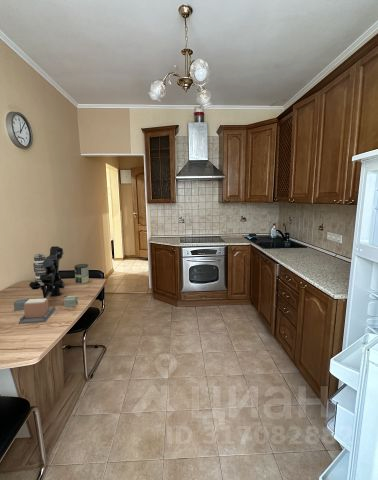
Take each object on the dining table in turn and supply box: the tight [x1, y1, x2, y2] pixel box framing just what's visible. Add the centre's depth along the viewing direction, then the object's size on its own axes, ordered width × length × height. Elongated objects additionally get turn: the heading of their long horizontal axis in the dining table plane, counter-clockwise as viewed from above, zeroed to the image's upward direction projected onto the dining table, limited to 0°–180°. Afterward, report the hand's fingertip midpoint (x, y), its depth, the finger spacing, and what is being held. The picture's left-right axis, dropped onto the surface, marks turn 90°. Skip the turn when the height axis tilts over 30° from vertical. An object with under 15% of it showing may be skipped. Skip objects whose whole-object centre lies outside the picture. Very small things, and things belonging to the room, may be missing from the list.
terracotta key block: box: [23, 297, 50, 318], centre depth 139 cm, size 6×10×9 cm, turn 101°
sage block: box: [63, 295, 79, 308], centre depth 156 cm, size 6×6×5 cm
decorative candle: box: [32, 253, 47, 284], centre depth 189 cm, size 9×9×25 cm
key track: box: [18, 306, 56, 325], centre depth 141 cm, size 16×13×2 cm
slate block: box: [13, 297, 30, 312], centre depth 151 cm, size 6×6×5 cm
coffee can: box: [73, 263, 90, 285], centre depth 200 cm, size 10×10×14 cm
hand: (44, 297), depth 150 cm, fingers closed
